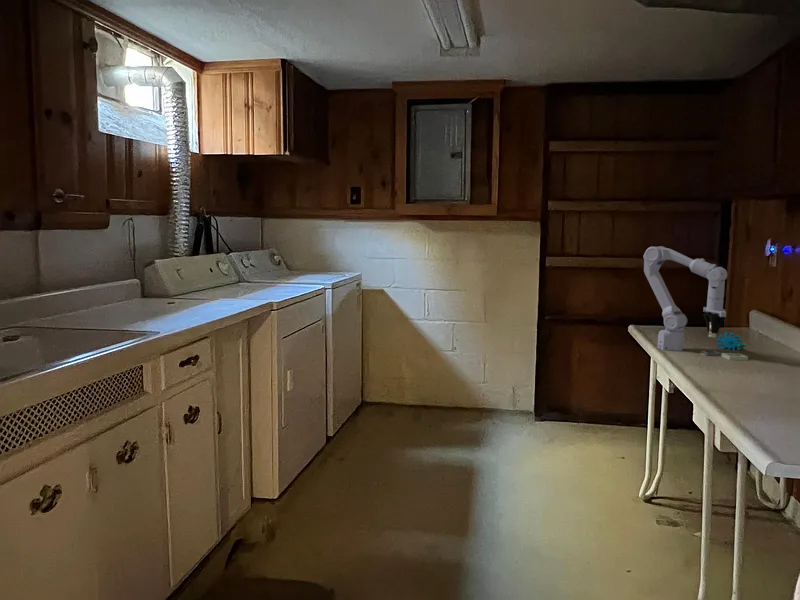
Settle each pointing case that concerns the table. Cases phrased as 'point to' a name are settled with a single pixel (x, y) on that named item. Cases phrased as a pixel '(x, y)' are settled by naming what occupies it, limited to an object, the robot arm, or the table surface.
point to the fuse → (711, 332)
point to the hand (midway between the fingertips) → (712, 332)
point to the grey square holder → (710, 353)
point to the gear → (730, 342)
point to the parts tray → (734, 356)
